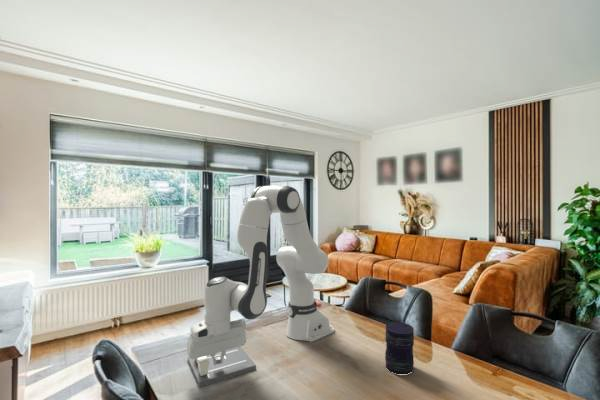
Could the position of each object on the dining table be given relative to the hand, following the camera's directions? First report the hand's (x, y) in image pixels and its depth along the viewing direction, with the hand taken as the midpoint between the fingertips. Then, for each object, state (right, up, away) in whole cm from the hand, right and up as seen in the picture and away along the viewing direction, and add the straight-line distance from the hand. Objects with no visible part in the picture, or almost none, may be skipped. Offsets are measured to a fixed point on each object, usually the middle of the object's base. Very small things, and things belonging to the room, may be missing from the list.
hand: (217, 363), depth 110 cm
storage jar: (+65, -4, +4) cm, 65 cm away
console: (0, -3, +5) cm, 6 cm away
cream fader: (-4, -2, -3) cm, 5 cm away
